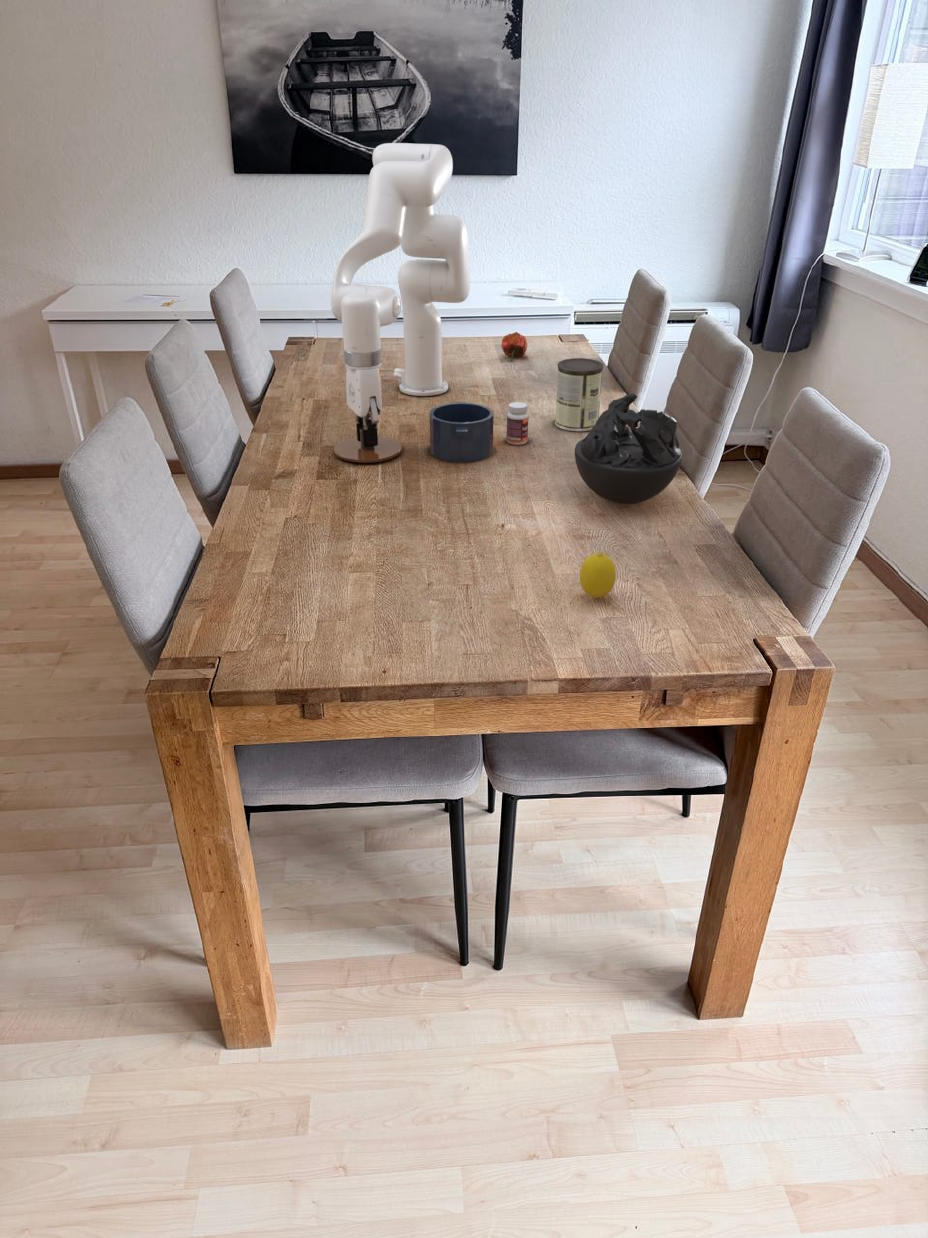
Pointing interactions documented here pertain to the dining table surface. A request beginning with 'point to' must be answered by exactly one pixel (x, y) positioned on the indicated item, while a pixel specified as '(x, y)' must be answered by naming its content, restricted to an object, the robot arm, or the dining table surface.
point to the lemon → (598, 575)
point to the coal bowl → (629, 453)
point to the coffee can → (578, 394)
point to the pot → (461, 432)
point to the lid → (367, 449)
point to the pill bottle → (517, 423)
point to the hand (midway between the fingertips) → (367, 442)
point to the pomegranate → (514, 345)
